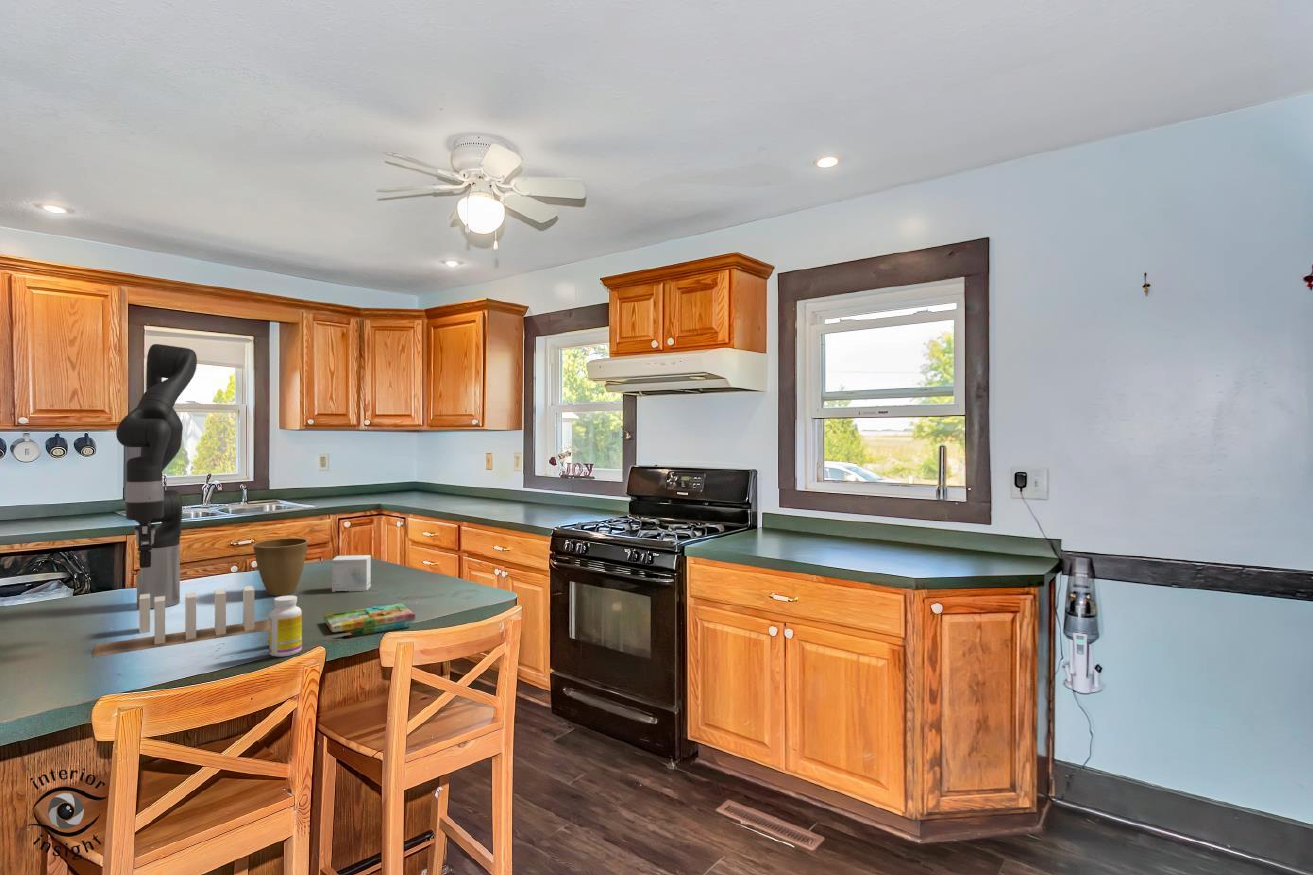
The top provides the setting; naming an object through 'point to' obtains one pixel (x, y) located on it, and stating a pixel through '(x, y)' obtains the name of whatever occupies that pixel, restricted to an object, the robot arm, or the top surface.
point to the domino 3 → (190, 615)
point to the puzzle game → (370, 619)
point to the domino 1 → (144, 613)
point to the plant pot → (280, 564)
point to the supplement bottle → (285, 627)
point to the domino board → (174, 639)
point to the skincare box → (351, 573)
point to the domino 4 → (220, 612)
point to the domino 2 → (159, 619)
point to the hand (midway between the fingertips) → (145, 564)
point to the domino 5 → (248, 608)
